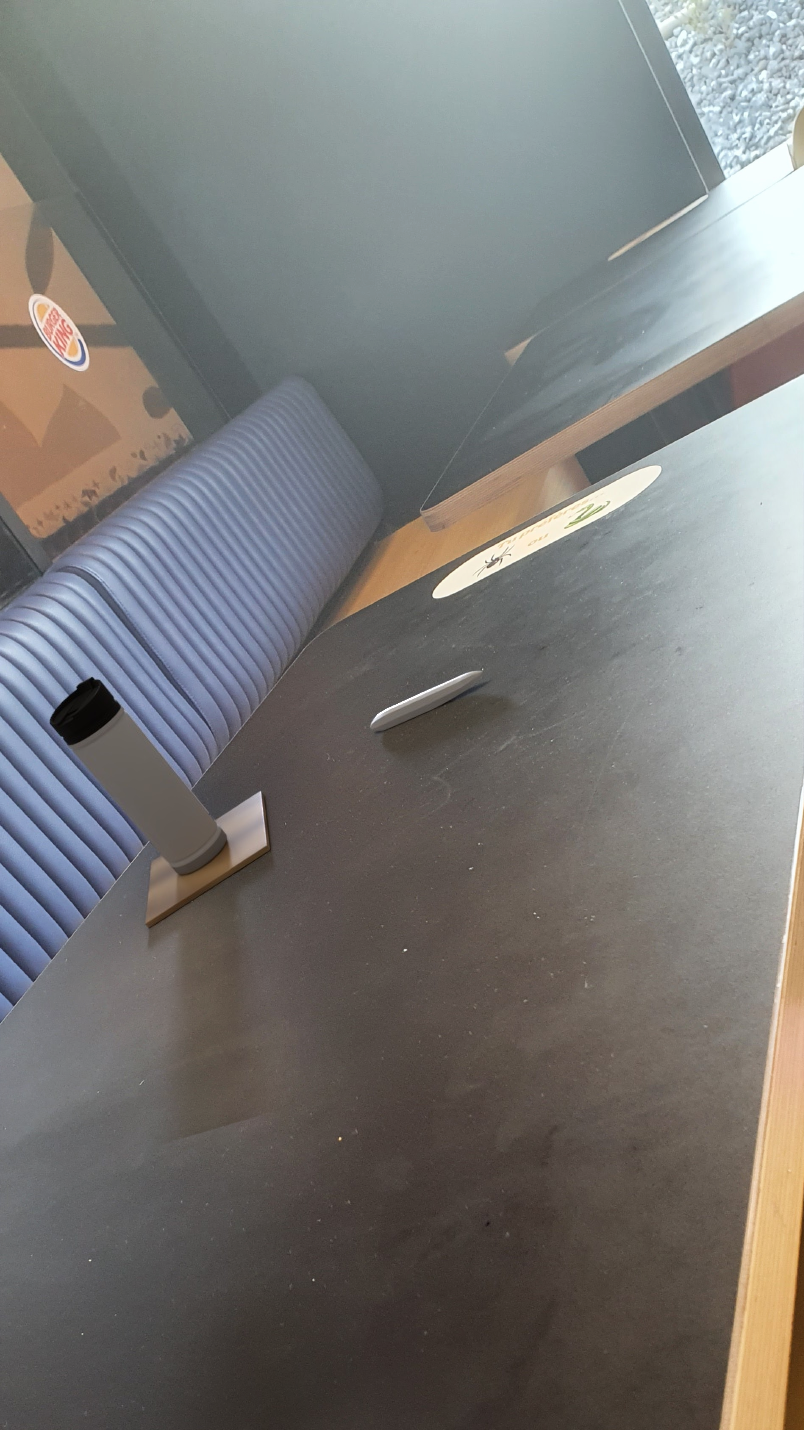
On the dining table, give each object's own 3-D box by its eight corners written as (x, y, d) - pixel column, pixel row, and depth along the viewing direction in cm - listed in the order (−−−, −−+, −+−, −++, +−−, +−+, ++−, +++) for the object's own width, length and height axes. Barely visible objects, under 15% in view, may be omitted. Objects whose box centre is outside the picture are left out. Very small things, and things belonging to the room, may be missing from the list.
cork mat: (154, 865, 123) (151, 861, 122) (264, 794, 122) (260, 790, 122) (148, 928, 110) (144, 924, 110) (270, 849, 109) (266, 845, 109)
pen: (488, 685, 113) (479, 671, 112) (371, 736, 118) (363, 724, 118) (490, 677, 114) (482, 664, 113) (375, 728, 120) (366, 716, 119)
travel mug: (237, 824, 117) (110, 665, 108) (215, 863, 112) (80, 700, 103) (191, 844, 120) (63, 691, 111) (168, 883, 115) (32, 726, 106)
